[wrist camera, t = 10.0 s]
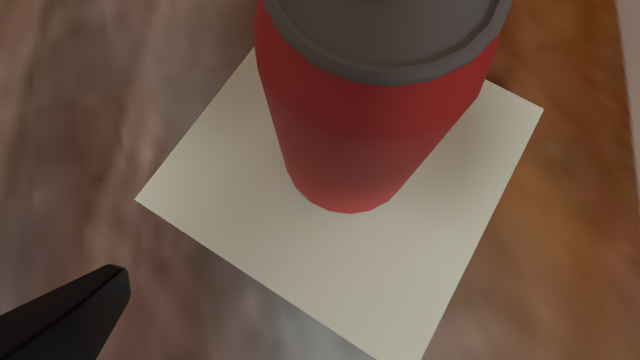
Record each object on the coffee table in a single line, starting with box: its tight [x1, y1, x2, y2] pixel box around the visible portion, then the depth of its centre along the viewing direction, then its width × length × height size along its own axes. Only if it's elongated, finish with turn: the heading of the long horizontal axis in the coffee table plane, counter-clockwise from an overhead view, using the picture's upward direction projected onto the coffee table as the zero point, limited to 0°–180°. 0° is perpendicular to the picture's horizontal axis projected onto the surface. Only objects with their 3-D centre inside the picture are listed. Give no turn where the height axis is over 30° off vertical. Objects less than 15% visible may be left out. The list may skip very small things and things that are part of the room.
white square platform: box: [134, 47, 544, 360], centre depth 21 cm, size 16×16×4 cm
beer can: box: [253, 0, 513, 214], centre depth 14 cm, size 7×7×12 cm
